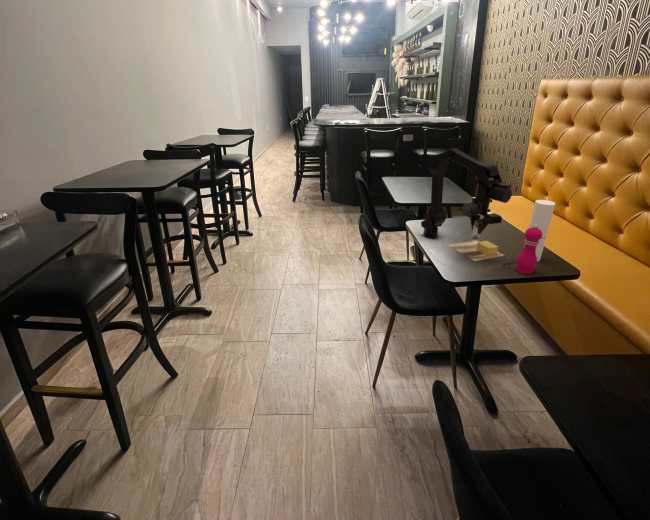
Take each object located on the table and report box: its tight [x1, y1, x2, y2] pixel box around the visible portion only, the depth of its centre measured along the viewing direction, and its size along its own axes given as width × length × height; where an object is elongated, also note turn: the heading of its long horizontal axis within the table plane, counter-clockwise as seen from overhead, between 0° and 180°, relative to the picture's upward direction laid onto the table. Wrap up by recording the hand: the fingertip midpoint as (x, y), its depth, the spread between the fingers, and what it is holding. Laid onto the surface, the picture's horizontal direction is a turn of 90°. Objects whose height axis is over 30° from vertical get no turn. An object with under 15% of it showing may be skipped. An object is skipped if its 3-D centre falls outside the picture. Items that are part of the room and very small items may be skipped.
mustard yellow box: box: [476, 240, 499, 256], centre depth 168 cm, size 7×5×4 cm
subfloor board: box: [447, 239, 505, 262], centre depth 171 cm, size 18×16×2 cm
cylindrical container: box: [523, 199, 556, 263], centre depth 162 cm, size 7×7×25 cm
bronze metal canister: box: [470, 219, 481, 240], centre depth 162 cm, size 3×3×8 cm
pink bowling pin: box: [515, 224, 542, 275], centre depth 152 cm, size 7×7×20 cm
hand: (476, 232), depth 163 cm, fingers closed on bronze metal canister, 3 cm apart
